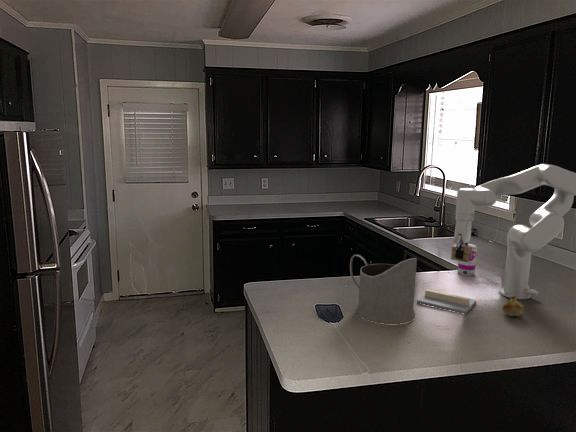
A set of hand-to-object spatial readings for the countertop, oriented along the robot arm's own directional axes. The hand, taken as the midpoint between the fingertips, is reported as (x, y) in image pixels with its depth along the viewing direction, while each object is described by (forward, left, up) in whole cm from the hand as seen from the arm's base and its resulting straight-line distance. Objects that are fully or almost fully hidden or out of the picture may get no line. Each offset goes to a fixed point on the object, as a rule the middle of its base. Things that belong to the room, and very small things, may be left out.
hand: (461, 256), depth 209 cm
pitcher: (+20, +41, -17) cm, 49 cm away
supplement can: (+5, -32, -17) cm, 37 cm away
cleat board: (0, +16, -17) cm, 23 cm away
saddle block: (0, 0, -1) cm, 1 cm away
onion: (-25, +13, -17) cm, 33 cm away
